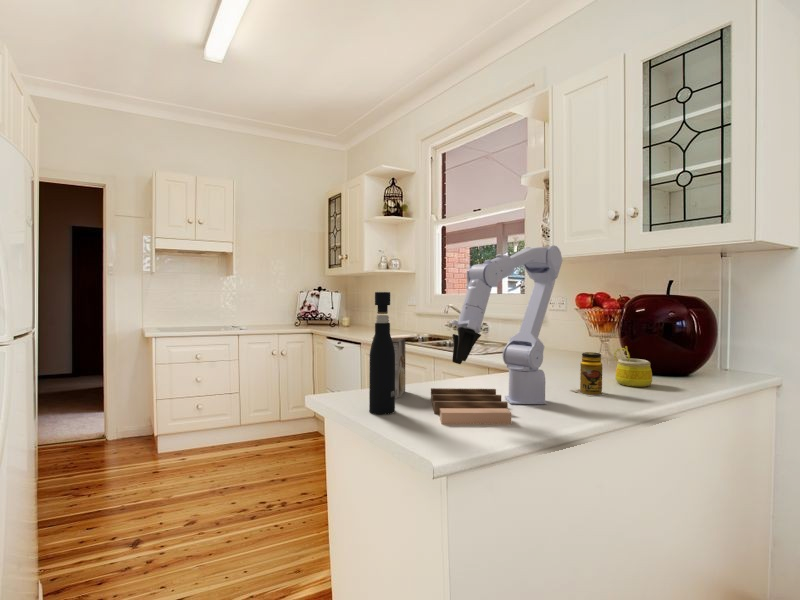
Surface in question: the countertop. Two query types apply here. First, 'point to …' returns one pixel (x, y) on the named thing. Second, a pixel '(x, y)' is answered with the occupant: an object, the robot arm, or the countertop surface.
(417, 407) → the countertop surface
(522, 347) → the robot arm
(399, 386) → the coffee box
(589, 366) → the condiment
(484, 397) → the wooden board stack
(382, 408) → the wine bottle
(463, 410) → the clay strip
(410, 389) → the countertop surface
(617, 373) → the yellow round container
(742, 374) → the countertop surface
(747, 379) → the countertop surface
